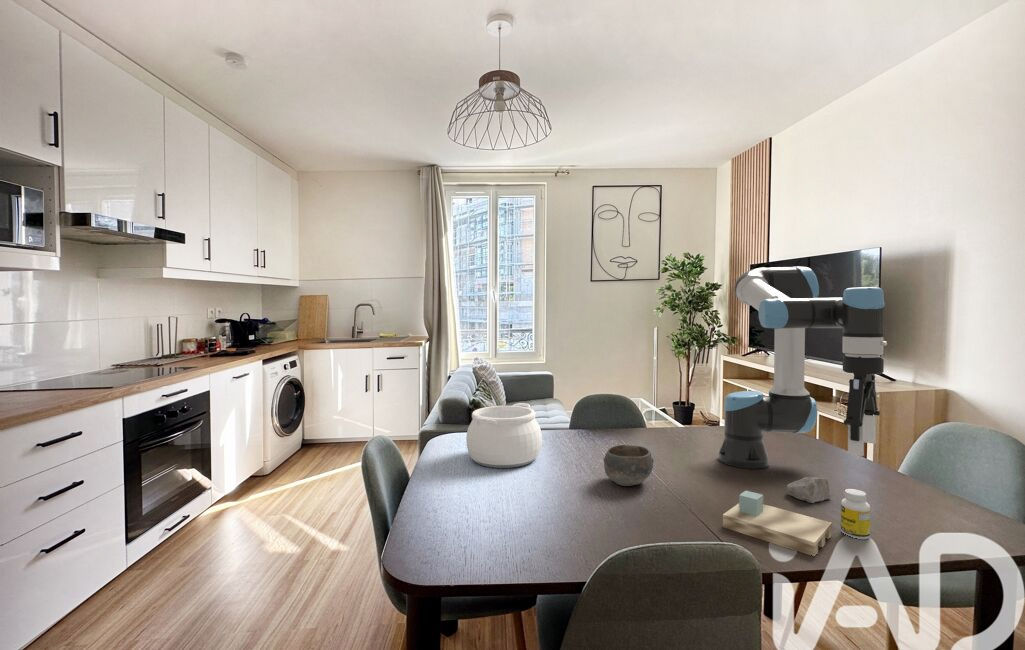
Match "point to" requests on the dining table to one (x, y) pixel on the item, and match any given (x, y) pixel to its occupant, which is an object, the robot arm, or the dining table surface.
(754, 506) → the pale blue cube
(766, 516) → the pallet
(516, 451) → the pot
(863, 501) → the supplement bottle
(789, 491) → the stone
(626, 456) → the bowl
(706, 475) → the dining table surface
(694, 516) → the dining table surface
